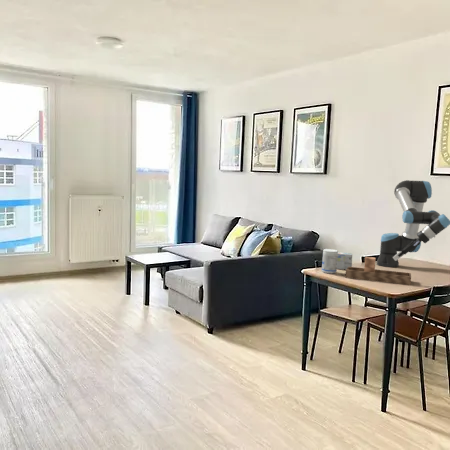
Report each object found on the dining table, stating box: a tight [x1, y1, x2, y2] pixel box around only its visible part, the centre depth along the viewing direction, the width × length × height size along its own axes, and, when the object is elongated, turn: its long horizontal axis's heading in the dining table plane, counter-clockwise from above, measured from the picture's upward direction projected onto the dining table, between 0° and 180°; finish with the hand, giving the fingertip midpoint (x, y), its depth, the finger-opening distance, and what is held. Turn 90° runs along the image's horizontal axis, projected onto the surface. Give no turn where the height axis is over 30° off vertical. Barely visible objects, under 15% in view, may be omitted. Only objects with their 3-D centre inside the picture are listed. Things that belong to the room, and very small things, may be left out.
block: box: [363, 256, 377, 273], centre depth 298 cm, size 6×6×10 cm
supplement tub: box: [321, 248, 339, 275], centre depth 312 cm, size 10×10×15 cm
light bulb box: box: [337, 252, 353, 271], centre depth 327 cm, size 11×7×11 cm, turn 84°
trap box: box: [345, 266, 412, 286], centre depth 297 cm, size 38×12×5 cm, turn 70°
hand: (394, 259), depth 293 cm, fingers closed
